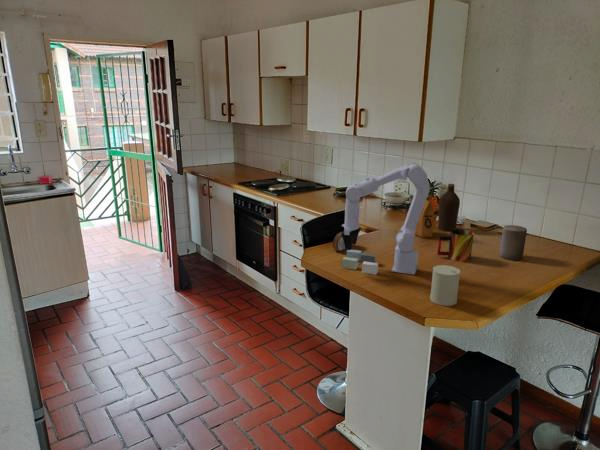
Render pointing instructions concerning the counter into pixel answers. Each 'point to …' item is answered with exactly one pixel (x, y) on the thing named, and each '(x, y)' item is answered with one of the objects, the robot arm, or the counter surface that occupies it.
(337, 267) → the counter surface
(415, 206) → the robot arm
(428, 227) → the coffee package
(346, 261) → the sage brick
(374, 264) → the grey brick
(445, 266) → the can
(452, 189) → the olive oil
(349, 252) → the blue brick
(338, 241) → the tin
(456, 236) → the mug
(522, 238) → the pillar candle
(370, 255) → the charcoal brick
